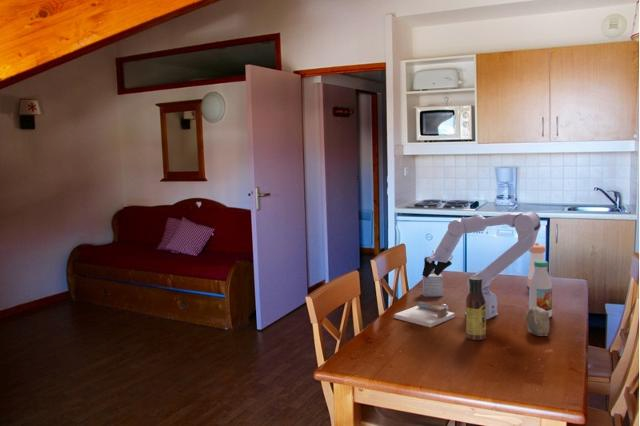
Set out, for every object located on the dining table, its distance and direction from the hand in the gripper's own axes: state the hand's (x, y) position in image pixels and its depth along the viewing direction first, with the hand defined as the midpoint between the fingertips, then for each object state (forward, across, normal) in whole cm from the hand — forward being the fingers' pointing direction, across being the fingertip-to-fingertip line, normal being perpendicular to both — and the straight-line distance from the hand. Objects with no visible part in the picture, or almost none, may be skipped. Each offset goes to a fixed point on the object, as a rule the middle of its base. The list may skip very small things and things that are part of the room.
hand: (430, 275), depth 218 cm
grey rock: (-11, +1, +45) cm, 46 cm away
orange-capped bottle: (-2, -53, +20) cm, 57 cm away
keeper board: (+9, +11, +12) cm, 19 cm away
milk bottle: (-8, -17, +37) cm, 42 cm away
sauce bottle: (-3, +18, +34) cm, 38 cm away
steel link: (+7, +6, +11) cm, 15 cm away
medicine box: (+14, -15, -2) cm, 21 cm away
